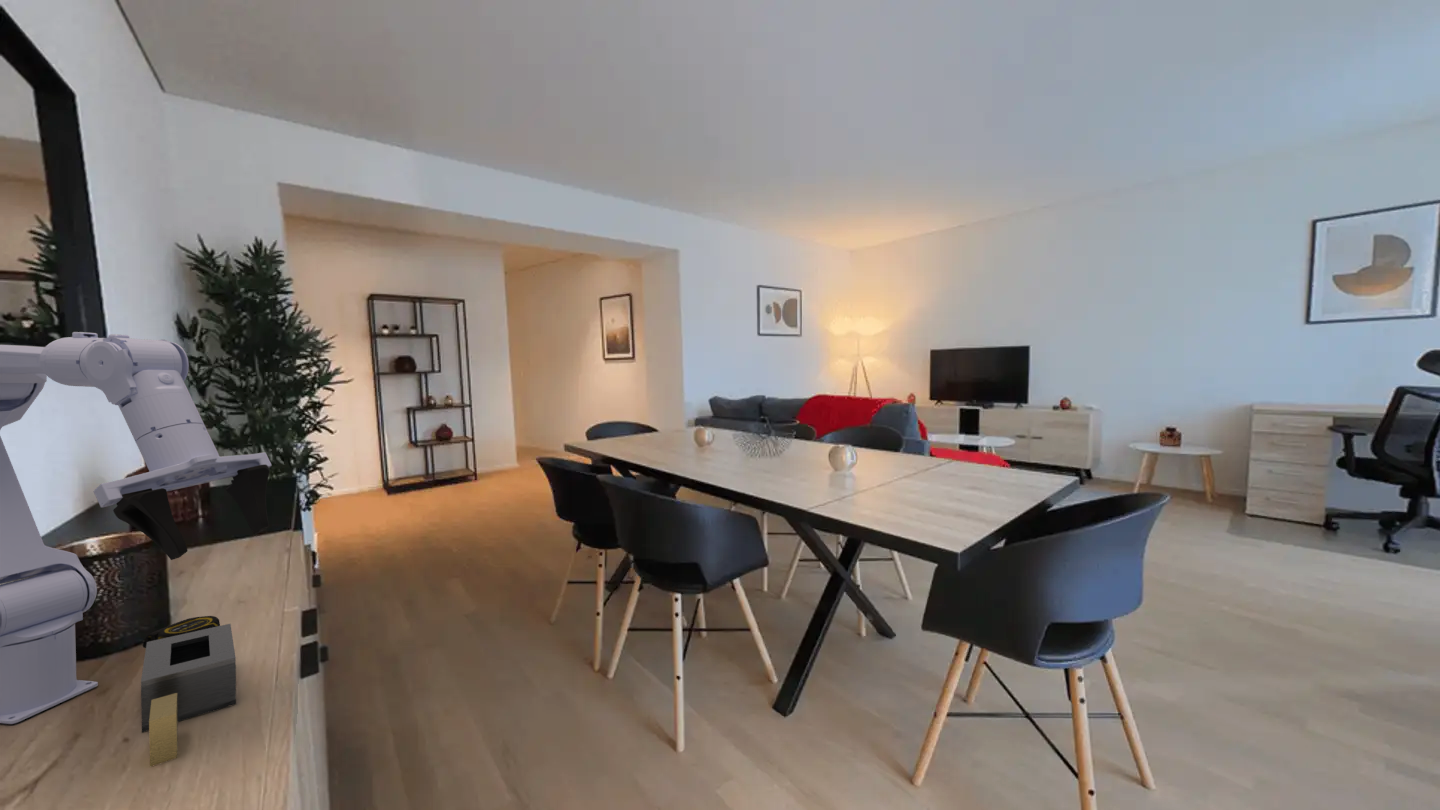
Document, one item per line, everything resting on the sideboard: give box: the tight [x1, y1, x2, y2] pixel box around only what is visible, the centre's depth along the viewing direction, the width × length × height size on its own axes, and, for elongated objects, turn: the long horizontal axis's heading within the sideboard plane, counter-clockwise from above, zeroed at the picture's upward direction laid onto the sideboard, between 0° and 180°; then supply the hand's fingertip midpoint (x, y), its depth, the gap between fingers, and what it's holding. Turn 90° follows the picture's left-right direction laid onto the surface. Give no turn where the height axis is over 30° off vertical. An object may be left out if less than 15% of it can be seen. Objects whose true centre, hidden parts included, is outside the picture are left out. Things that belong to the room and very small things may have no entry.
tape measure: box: [141, 615, 221, 649], centre depth 79 cm, size 7×7×4 cm
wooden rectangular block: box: [148, 693, 179, 767], centre depth 58 cm, size 5×2×5 cm, turn 45°
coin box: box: [140, 623, 237, 733], centre depth 68 cm, size 12×8×6 cm, turn 45°
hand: (223, 542), depth 60 cm, fingers open, 7 cm apart
